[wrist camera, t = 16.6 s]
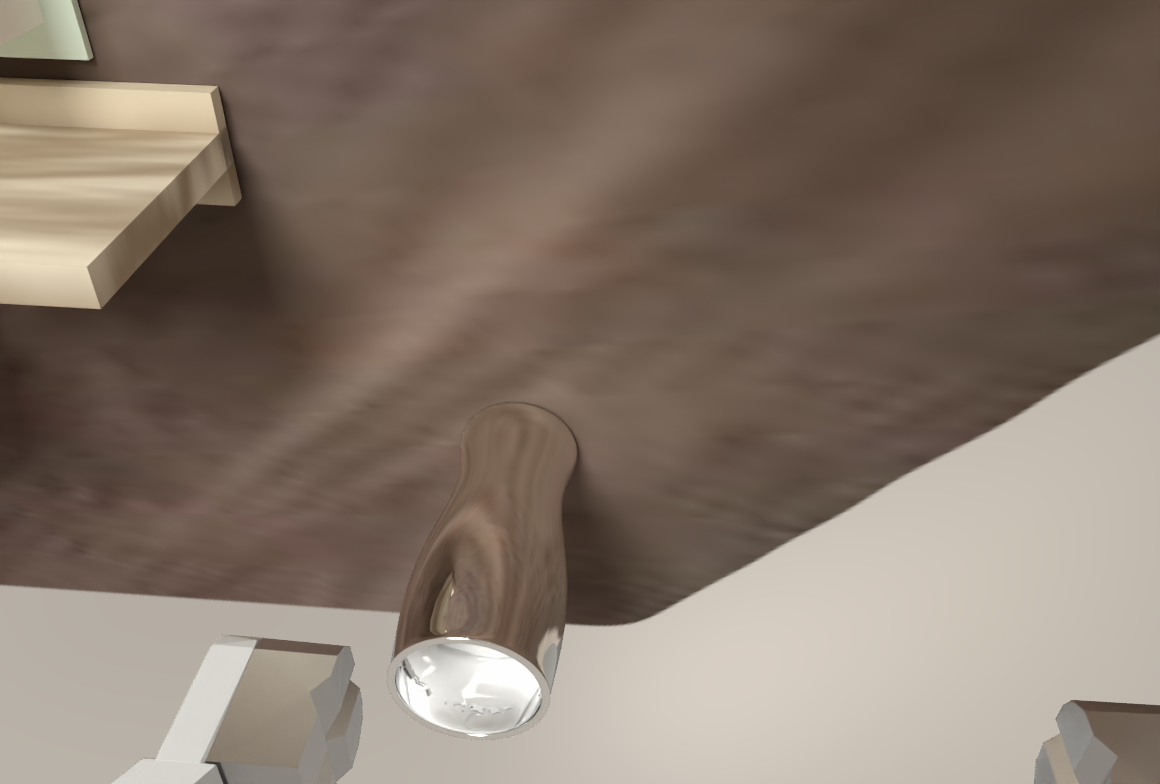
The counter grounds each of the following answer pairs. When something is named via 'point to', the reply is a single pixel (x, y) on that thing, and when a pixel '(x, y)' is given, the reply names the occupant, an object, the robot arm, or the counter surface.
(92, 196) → the wooden stand
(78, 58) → the pad
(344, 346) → the counter surface
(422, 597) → the beer glass
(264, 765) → the robot arm
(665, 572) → the counter surface
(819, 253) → the counter surface
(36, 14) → the lettered cube
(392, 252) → the counter surface
